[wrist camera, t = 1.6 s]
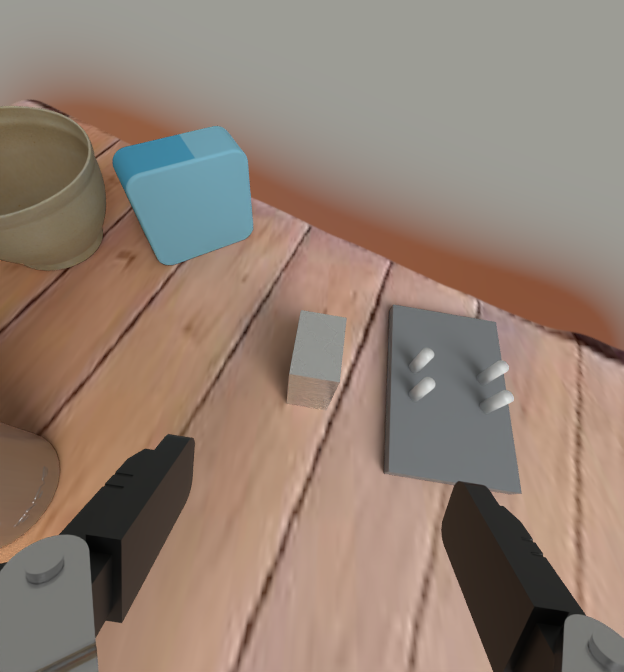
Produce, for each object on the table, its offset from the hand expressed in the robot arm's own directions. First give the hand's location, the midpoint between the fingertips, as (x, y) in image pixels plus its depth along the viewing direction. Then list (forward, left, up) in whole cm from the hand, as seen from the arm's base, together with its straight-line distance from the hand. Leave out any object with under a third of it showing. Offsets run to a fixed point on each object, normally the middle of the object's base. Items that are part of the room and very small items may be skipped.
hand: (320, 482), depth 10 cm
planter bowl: (-32, +24, -21) cm, 45 cm away
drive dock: (+14, +13, -21) cm, 28 cm away
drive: (0, +12, -21) cm, 24 cm away
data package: (-16, +28, -22) cm, 38 cm away
